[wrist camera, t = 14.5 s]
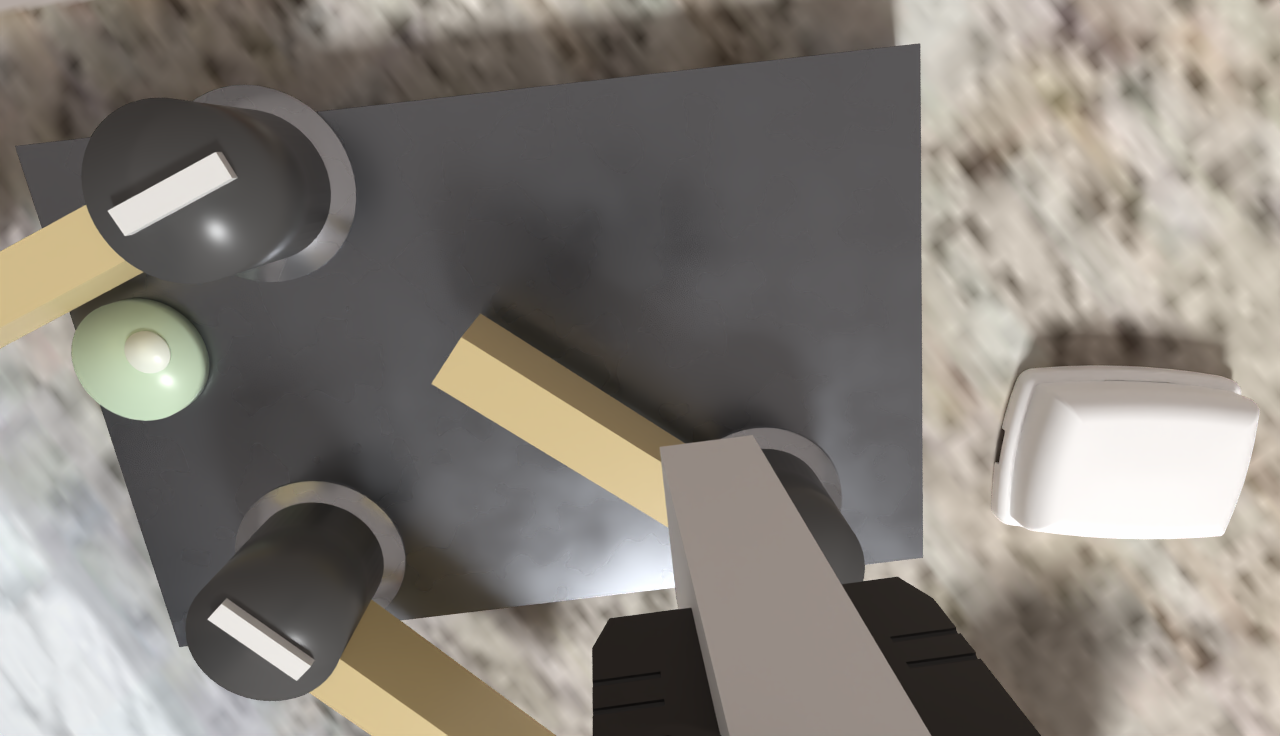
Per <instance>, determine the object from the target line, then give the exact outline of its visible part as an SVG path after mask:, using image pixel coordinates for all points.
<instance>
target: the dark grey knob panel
mask: <svg viewBox="0 0 1280 736" xmlns="http://www.w3.org/2000/svg"><path fill="white" fill-rule="evenodd" d="M193 102H201V103H208V104H216V105H223V106H231V107H238V108H246V109H253V110H260V111H264V112H268V113H271V114H273V115H276V116H278V117H280V118H282V119H284V120H286V121H288V122H289V123H291V124H292V125H294V126H295V127H296V128H298V129H299V130H300V131H301V132H302V133H303V134H304V135H305V136H306V137H307V138H308V139H309V140H310V141H311V142H312V144H313V145H314V146H315V148H316V149H317V151H318V152H319V154H320V156H321V158H322V160H323V162H324V164H325V167H326V170H327V172H328V176H329V181H330V188H331V203H330V210H329V214H328V217H327V220H326V223H325V225H324V227H323V229H322V230H321V232H320V234H319V235H318V236H317V238H316V239H315V240H314V241H313V242H312V243H311V244H310V245H309V246H308V247H306V248H305V249H304V250H302V251H301V252H299V253H297V254H295V255H293V256H291V257H288V258H285V259H282V260H279V261H275V262H272V263H269V264H266V265H263V266H260V267H256V268H253V269H250V270H247V271H244V272H240V273H237V274H234V275H231V276H228V277H225V278H221V279H218V280H215V281H211V282H206V283H199V284H183V283H174V282H170V281H166V280H162V279H159V278H156V277H153V276H151V275H149V274H147V273H145V272H143V273H141V274H139V275H137V276H135V277H133V278H132V279H130V280H128V281H126V282H124V283H122V284H120V285H118V286H116V287H115V288H113V289H111V290H109V291H107V292H105V293H103V294H101V295H100V296H98V297H96V298H94V299H92V300H90V301H88V302H86V303H85V304H83V305H81V306H79V307H77V308H75V309H73V310H71V311H70V315H71V318H72V321H73V324H74V327H75V330H76V329H77V328H78V326H79V324H80V323H81V322H82V320H83V319H84V318H85V317H86V316H87V315H88V314H89V313H91V312H92V311H94V310H95V309H97V308H99V307H101V306H104V305H107V304H110V303H113V302H117V301H120V300H125V299H133V298H140V299H149V300H154V301H157V302H160V303H163V304H165V305H167V306H170V307H171V308H173V309H175V310H176V311H178V312H179V313H181V314H182V315H183V316H185V317H186V318H187V319H188V320H189V321H190V322H191V323H192V324H193V326H194V327H195V328H196V329H197V331H198V332H199V334H200V335H201V337H202V339H203V341H204V343H205V346H206V349H207V352H208V357H209V375H208V379H207V382H206V385H205V387H204V389H203V391H202V392H201V394H200V395H199V396H198V398H197V399H196V400H195V401H194V402H192V403H191V404H190V405H188V406H187V407H185V408H184V409H182V410H180V411H179V412H177V413H175V414H173V415H171V416H169V417H166V418H163V419H158V420H148V421H144V420H134V419H129V418H126V417H122V416H120V415H117V414H115V413H113V412H111V411H109V410H108V409H106V408H104V407H103V406H102V405H100V406H101V409H102V412H103V415H104V418H105V421H106V424H107V428H108V431H109V434H110V437H111V440H112V443H113V446H114V449H115V452H116V455H117V458H118V461H119V464H120V467H121V470H122V473H123V476H124V479H125V482H126V485H127V488H128V491H129V495H130V498H131V501H132V504H133V507H134V510H135V513H136V516H137V519H138V522H139V525H140V528H141V531H142V534H143V537H144V540H145V543H146V546H147V549H148V552H149V555H150V558H151V562H152V565H153V568H154V571H155V574H156V577H157V580H158V583H159V586H160V589H161V592H162V595H163V598H164V601H165V604H166V607H167V610H168V613H169V616H170V619H171V622H172V625H173V629H174V632H175V635H176V638H177V641H178V644H179V647H183V646H188V643H187V640H186V633H185V624H186V617H187V613H188V610H189V608H190V605H191V604H192V602H193V600H194V598H195V597H196V596H197V594H198V593H199V592H200V591H201V590H202V589H203V588H204V587H205V585H206V584H207V583H208V582H209V581H210V580H211V579H212V578H213V577H214V576H215V575H216V574H217V573H218V572H219V571H220V569H221V568H222V567H223V566H224V565H225V564H226V563H227V562H228V561H229V560H230V559H231V558H232V557H233V556H234V555H235V553H236V552H237V551H238V550H239V549H240V548H241V547H242V546H243V545H244V544H245V543H246V542H247V541H248V540H249V539H250V537H251V536H252V535H253V534H254V533H255V532H256V531H257V530H258V529H259V528H260V527H261V526H262V525H263V524H264V523H265V522H266V521H267V520H268V519H269V518H270V517H271V516H272V515H274V514H275V513H276V512H278V511H280V510H282V509H284V508H286V507H289V506H291V505H295V504H300V503H308V502H316V503H325V504H330V505H334V506H337V507H340V508H342V509H345V510H347V511H349V512H351V513H352V514H354V515H355V516H357V517H358V518H360V519H361V520H362V521H363V522H364V523H365V524H366V525H367V526H368V527H369V528H370V529H371V530H372V532H373V533H374V535H375V536H376V538H377V540H378V542H379V544H380V547H381V549H382V553H383V558H384V571H383V576H382V580H381V582H380V585H379V587H378V589H377V591H376V593H375V595H374V596H373V598H372V600H373V601H374V602H376V603H377V604H378V605H380V606H381V607H383V608H384V609H385V610H387V611H388V612H389V613H391V614H392V615H393V616H395V617H396V618H397V619H399V620H408V619H416V618H425V617H433V616H441V615H450V614H458V613H466V612H475V611H483V610H491V609H499V608H508V607H516V606H524V605H533V604H541V603H549V602H558V601H566V600H574V599H583V598H591V597H599V596H608V595H616V594H624V593H633V592H641V591H649V590H658V589H666V588H674V587H675V582H674V573H673V564H672V555H671V546H670V537H669V528H668V527H666V526H665V525H663V524H661V523H660V522H658V521H657V520H655V519H653V518H652V517H650V516H648V515H647V514H645V513H643V512H642V511H640V510H638V509H637V508H635V507H633V506H632V505H630V504H629V503H627V502H625V501H624V500H622V499H620V498H619V497H617V496H615V495H614V494H612V493H610V492H609V491H607V490H606V489H604V488H602V487H601V486H599V485H597V484H596V483H594V482H592V481H591V480H589V479H587V478H586V477H584V476H582V475H581V474H579V473H578V472H576V471H574V470H573V469H571V468H569V467H568V466H566V465H564V464H563V463H561V462H559V461H558V460H556V459H554V458H553V457H551V456H550V455H548V454H546V453H545V452H543V451H541V450H540V449H538V448H536V447H535V446H533V445H531V444H530V443H528V442H526V441H525V440H523V439H522V438H520V437H518V436H517V435H515V434H513V433H512V432H510V431H508V430H507V429H505V428H503V427H502V426H500V425H498V424H497V423H495V422H494V421H492V420H490V419H489V418H487V417H485V416H484V415H482V414H480V413H479V412H477V411H475V410H474V409H472V408H470V407H469V406H467V405H466V404H464V403H462V402H461V401H459V400H457V399H456V398H454V397H452V396H451V395H449V394H447V393H446V392H444V391H442V390H441V389H439V388H438V387H436V386H434V385H433V384H431V383H432V382H433V380H434V379H435V377H436V376H437V374H438V373H439V371H440V369H441V368H442V366H443V365H444V363H445V362H446V360H447V359H448V357H449V355H450V354H451V352H452V351H453V349H454V348H455V346H456V344H457V343H458V341H459V340H460V338H461V337H462V336H463V334H464V333H465V332H466V331H467V329H468V328H469V327H470V326H471V324H472V323H473V322H474V321H475V320H476V318H477V317H478V316H479V315H480V313H481V314H482V315H484V316H485V317H487V318H489V319H490V320H492V321H493V322H495V323H496V324H498V325H500V326H501V327H503V328H504V329H506V330H507V331H509V332H511V333H512V334H514V335H515V336H517V337H518V338H520V339H522V340H523V341H525V342H526V343H528V344H529V345H531V346H533V347H534V348H536V349H537V350H539V351H540V352H542V353H544V354H545V355H547V356H548V357H550V358H551V359H553V360H555V361H556V362H558V363H559V364H561V365H562V366H564V367H566V368H567V369H569V370H570V371H572V372H573V373H575V374H577V375H578V376H580V377H581V378H583V379H584V380H586V381H588V382H589V383H591V384H592V385H594V386H595V387H597V388H599V389H600V390H602V391H603V392H605V393H606V394H608V395H610V396H611V397H613V398H614V399H616V400H617V401H619V402H621V403H622V404H624V405H625V406H627V407H628V408H630V409H632V410H633V411H635V412H636V413H638V414H639V415H641V416H643V417H644V418H646V419H647V420H649V421H650V422H652V423H654V424H655V425H657V426H658V427H660V428H661V429H663V430H665V431H666V432H668V433H669V434H671V435H672V436H674V437H676V438H677V439H679V440H680V441H682V442H683V443H685V444H686V443H694V442H702V441H710V440H718V439H726V438H734V437H742V436H749V435H753V437H754V438H755V440H756V442H757V443H758V445H759V447H760V448H761V449H775V450H780V451H784V452H787V453H790V454H792V455H794V456H796V457H798V458H800V459H801V460H802V461H804V462H805V463H806V464H807V465H808V466H809V467H810V468H811V469H812V470H813V471H814V473H815V474H816V475H817V477H818V478H819V480H820V481H821V483H822V484H823V486H824V488H825V489H826V491H827V492H828V494H829V495H830V497H831V498H832V500H833V501H834V503H835V504H836V506H837V507H838V509H839V510H840V512H841V513H842V515H843V517H844V518H845V520H846V521H847V523H848V524H849V526H850V527H851V529H852V530H853V532H854V533H855V535H856V537H857V539H858V540H859V542H860V545H861V547H862V550H863V555H864V560H865V565H866V564H874V563H882V562H891V561H899V560H907V559H916V558H923V493H922V294H921V96H920V44H911V45H902V46H894V47H885V48H876V49H867V50H858V51H850V52H841V53H832V54H823V55H814V56H805V57H797V58H788V59H779V60H770V61H761V62H752V63H744V64H735V65H726V66H717V67H708V68H700V69H691V70H682V71H673V72H664V73H655V74H647V75H638V76H629V77H620V78H611V79H602V80H594V81H585V82H576V83H567V84H558V85H549V86H541V87H532V88H523V89H514V90H505V91H497V92H488V93H479V94H470V95H461V96H452V97H444V98H435V99H426V100H417V101H408V102H399V103H391V104H382V105H373V106H364V107H355V108H346V109H338V110H329V111H320V112H315V111H314V110H313V109H312V108H310V107H309V106H307V105H306V104H304V103H303V102H301V101H300V100H298V99H296V98H294V97H292V96H290V95H288V94H286V93H283V92H280V91H278V90H275V89H271V88H266V87H262V86H254V85H233V86H227V87H222V88H218V89H215V90H213V91H210V92H207V93H205V94H203V95H202V96H200V97H198V98H196V99H195V100H194V101H193ZM89 140H90V138H82V139H73V140H64V141H55V142H46V143H38V144H29V145H20V146H15V147H16V150H17V153H18V157H19V160H20V163H21V166H22V169H23V172H24V175H25V178H26V181H27V184H28V187H29V190H30V193H31V196H32V199H33V202H34V205H35V208H36V211H37V214H38V217H39V220H40V224H41V227H42V228H44V227H46V226H48V225H50V224H52V223H53V222H55V221H57V220H59V219H61V218H63V217H64V216H66V215H68V214H70V213H72V212H74V211H75V210H77V209H79V208H81V207H83V206H85V205H86V203H85V200H84V195H83V190H82V179H81V173H82V162H83V157H84V153H85V150H86V147H87V144H88V142H89Z"/></svg>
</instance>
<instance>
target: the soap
mask: <svg viewBox="0 0 1280 736" xmlns="http://www.w3.org/2000/svg"><path fill="white" fill-rule="evenodd" d="M1105 380H1106V381H1105ZM1166 382H1169V383H1166ZM1258 419H1259V407H1258V405H1257V403H1256V402H1255V401H1253V400H1252V399H1250V398H1247V397H1245V396H1242V395H1241V388H1240V386H1239V385H1238V383H1237V382H1235V381H1234V380H1231V379H1228V378H1226V377H1223V376H1218V375H1212V374H1206V373H1199V372H1192V371H1184V370H1175V369H1166V368H1153V367H1139V366H1109V365H1085V366H1057V367H1043V368H1031V369H1027V370H1025V371H1023V372H1022V373H1021V374H1020V375H1019V376H1018V378H1017V380H1016V382H1015V385H1014V388H1013V391H1012V394H1011V397H1010V400H1009V403H1008V407H1007V410H1006V413H1005V417H1004V420H1003V424H1002V429H1004V430H1005V435H1004V439H1003V444H1002V448H1001V454H1000V460H999V463H998V462H995V465H994V473H993V483H992V499H991V510H992V513H993V514H994V515H995V517H997V518H998V519H999V520H1000V521H1001V522H1003V523H1004V524H1008V525H1014V526H1021V527H1024V528H1026V529H1028V530H1031V531H1038V532H1046V533H1054V534H1062V535H1073V536H1083V537H1099V538H1119V539H1178V538H1199V537H1214V536H1221V535H1223V534H1224V533H1225V531H1226V528H1227V526H1228V524H1229V521H1230V519H1231V517H1232V514H1233V511H1234V509H1235V506H1236V504H1237V501H1238V498H1239V496H1240V493H1241V490H1242V487H1243V484H1244V481H1245V477H1246V474H1247V470H1248V467H1249V463H1250V459H1251V455H1252V451H1253V447H1254V442H1255V437H1256V432H1257V426H1258Z"/></svg>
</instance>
